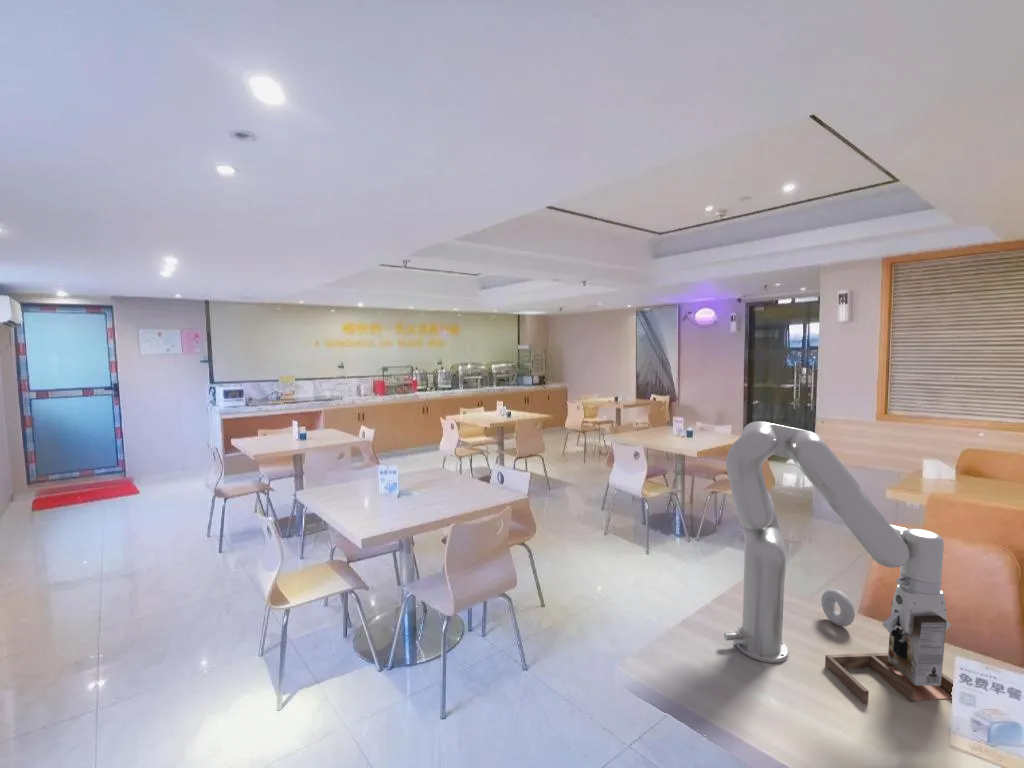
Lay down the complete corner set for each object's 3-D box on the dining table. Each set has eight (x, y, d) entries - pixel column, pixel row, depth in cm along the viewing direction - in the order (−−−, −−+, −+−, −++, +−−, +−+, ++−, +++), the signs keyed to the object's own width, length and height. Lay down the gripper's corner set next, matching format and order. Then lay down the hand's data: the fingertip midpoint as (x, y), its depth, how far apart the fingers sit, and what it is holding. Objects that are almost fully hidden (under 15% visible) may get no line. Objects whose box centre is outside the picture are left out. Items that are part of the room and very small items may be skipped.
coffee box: (885, 660, 124) (889, 599, 122) (911, 661, 123) (916, 599, 122) (914, 686, 114) (919, 619, 113) (943, 686, 114) (948, 620, 113)
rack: (863, 703, 112) (864, 691, 112) (825, 666, 125) (825, 655, 125) (961, 699, 113) (962, 687, 113) (912, 663, 126) (913, 651, 126)
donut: (857, 633, 139) (858, 598, 139) (846, 634, 139) (848, 600, 138) (827, 614, 149) (829, 582, 148) (817, 615, 148) (819, 583, 148)
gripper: (897, 592, 113) (892, 666, 114) (970, 590, 114) (964, 664, 115) (871, 576, 120) (867, 646, 122) (940, 574, 121) (935, 644, 123)
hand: (914, 654), depth 119 cm, fingers closed on coffee box, 6 cm apart
